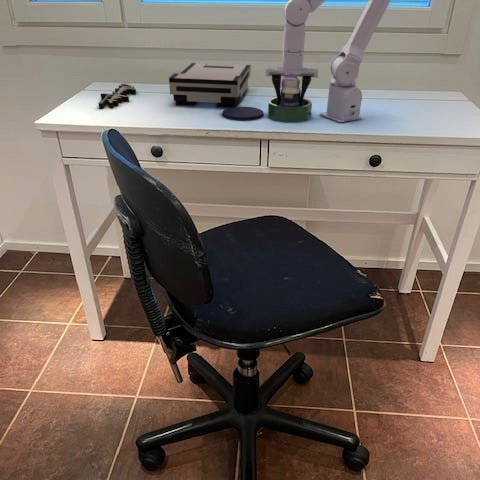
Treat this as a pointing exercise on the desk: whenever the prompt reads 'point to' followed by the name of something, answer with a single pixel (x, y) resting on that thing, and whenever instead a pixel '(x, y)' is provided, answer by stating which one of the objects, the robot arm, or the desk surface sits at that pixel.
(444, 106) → the desk surface
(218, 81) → the game console
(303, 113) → the ring
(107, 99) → the dark jagged flat part
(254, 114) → the navy blue disc
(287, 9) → the robot arm
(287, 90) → the pill bottle
